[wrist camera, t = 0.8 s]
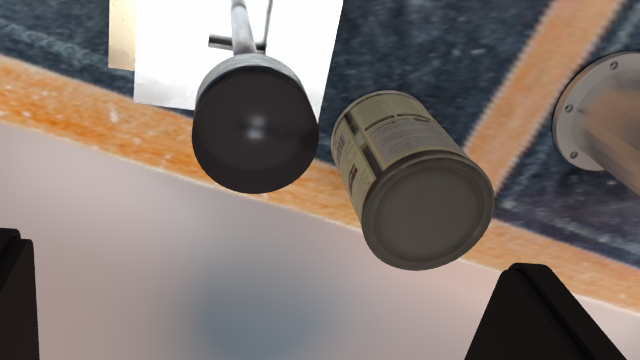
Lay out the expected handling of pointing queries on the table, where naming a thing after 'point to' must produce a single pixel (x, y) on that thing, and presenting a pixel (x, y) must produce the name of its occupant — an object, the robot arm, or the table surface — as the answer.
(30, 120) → the table surface
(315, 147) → the plunger
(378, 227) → the coffee can
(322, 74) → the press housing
